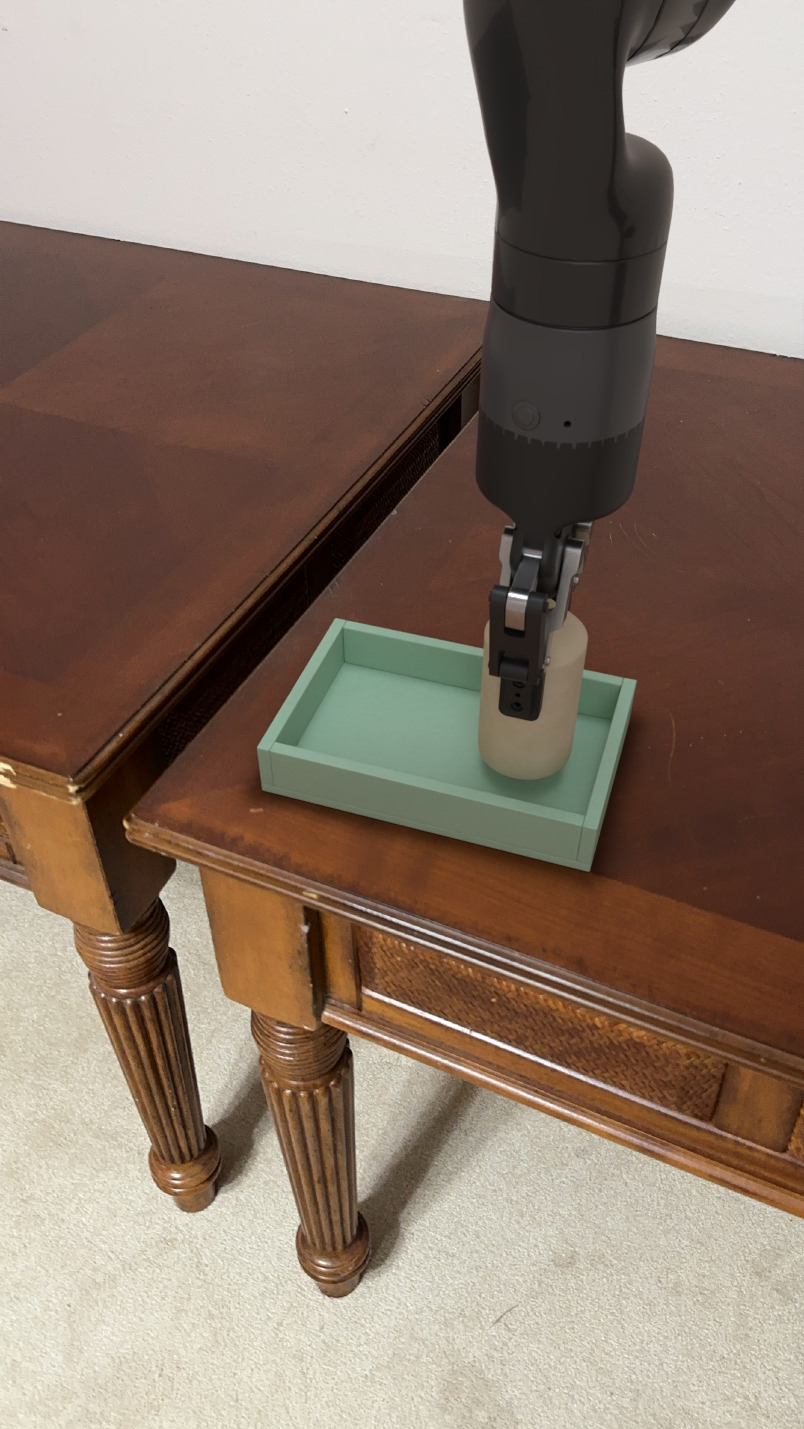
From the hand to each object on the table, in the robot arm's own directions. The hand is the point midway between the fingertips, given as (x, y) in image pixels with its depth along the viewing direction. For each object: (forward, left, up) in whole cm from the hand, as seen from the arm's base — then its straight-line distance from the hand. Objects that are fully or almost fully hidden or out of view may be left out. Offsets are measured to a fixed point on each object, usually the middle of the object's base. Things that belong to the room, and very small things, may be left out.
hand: (532, 677), depth 61 cm
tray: (+4, 0, -8) cm, 9 cm away
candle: (0, 0, -6) cm, 6 cm away
